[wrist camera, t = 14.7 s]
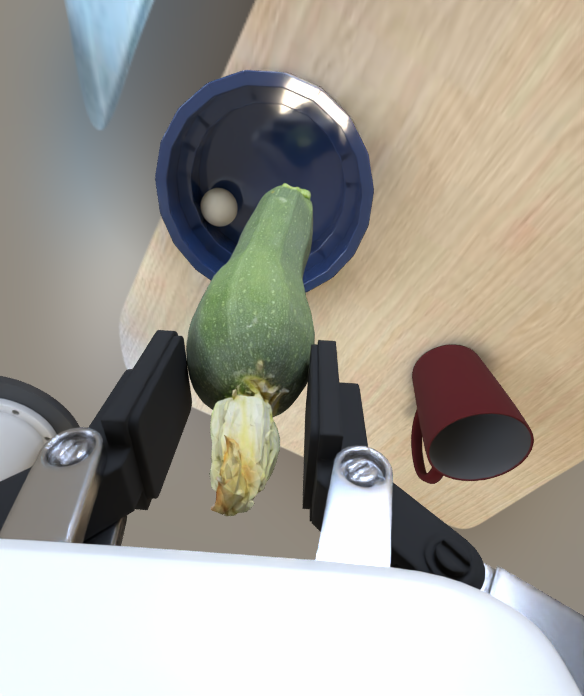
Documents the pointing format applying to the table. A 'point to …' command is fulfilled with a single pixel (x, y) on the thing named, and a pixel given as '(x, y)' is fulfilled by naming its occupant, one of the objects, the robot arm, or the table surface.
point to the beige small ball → (219, 207)
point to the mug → (464, 419)
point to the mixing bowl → (264, 167)
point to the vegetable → (254, 344)
